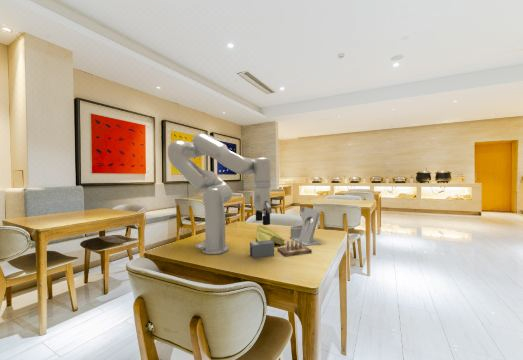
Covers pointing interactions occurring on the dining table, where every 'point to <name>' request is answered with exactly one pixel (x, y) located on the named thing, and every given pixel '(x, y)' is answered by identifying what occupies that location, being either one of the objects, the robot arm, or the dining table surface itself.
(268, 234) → the yellow-green folded towel
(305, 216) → the phone holder
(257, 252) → the block
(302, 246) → the brown peg board
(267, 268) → the dining table surface
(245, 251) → the dining table surface
